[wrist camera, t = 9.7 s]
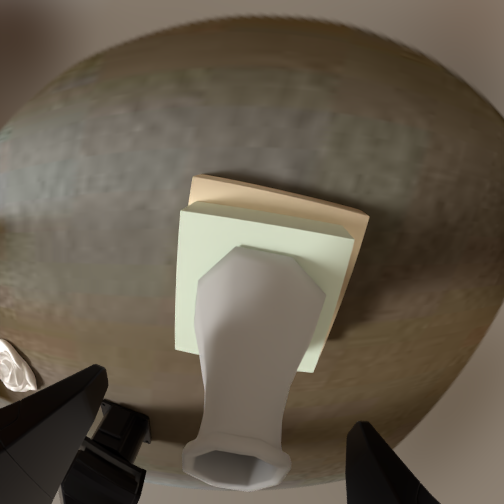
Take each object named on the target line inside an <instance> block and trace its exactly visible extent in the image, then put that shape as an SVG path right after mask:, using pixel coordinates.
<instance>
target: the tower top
mask: <svg viewBox="0 0 504 504" xmlns="http://www.w3.org/2000/svg"><path fill="white" fill-rule="evenodd" d="M353 244H354V238H353V237H352V236H351V235H350V234H349V233H348V231H347V230H346V229H345V228H344V227H343V226H342V225H337V224H332V223H327V222H322V221H316V220H311V219H305V218H300V217H294V216H288V215H283V214H277V213H271V212H265V211H259V210H252V209H246V208H240V207H233V206H227V205H220V204H213V203H206V202H199V201H196V202H194V203H192V204H191V205H189V206H187V207H186V208H184V209H182V210H181V211H180V224H179V238H178V254H177V274H176V304H175V349H176V350H180V351H184V352H189V353H193V354H198V355H199V351H198V345H197V340H196V335H195V329H194V316H195V305H196V294H197V284H198V280H199V279H200V278H201V277H202V276H203V275H204V274H205V273H206V272H208V271H209V270H210V269H211V268H212V267H213V266H214V265H215V264H216V263H217V262H219V261H220V260H221V259H222V258H223V257H224V256H225V255H226V254H227V253H229V252H230V251H231V250H232V249H233V248H234V247H235V246H237V247H242V248H247V249H253V250H258V251H263V252H268V253H273V254H279V255H284V256H289V257H292V258H293V259H294V260H295V261H296V262H297V263H298V264H299V265H300V266H301V267H302V269H303V270H304V271H305V272H306V273H307V274H308V275H309V276H310V277H311V278H312V279H313V281H314V282H315V283H316V284H317V285H318V286H319V287H320V288H321V289H322V291H323V292H324V293H325V294H326V298H325V301H324V304H323V307H322V310H321V313H320V316H319V319H318V322H317V325H316V328H315V331H314V334H313V337H312V339H311V342H310V344H309V347H308V349H307V351H306V353H305V355H304V357H303V359H302V361H301V363H300V365H299V367H298V369H297V371H302V372H311V373H313V372H314V369H315V366H316V364H317V361H318V358H319V355H320V353H321V350H322V347H323V344H324V341H325V338H326V335H327V332H328V329H329V326H330V323H331V320H332V317H333V314H334V311H335V308H336V305H337V301H338V298H339V295H340V291H341V288H342V285H343V281H344V278H345V274H346V271H347V267H348V263H349V260H350V256H351V252H352V248H353Z"/></svg>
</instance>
